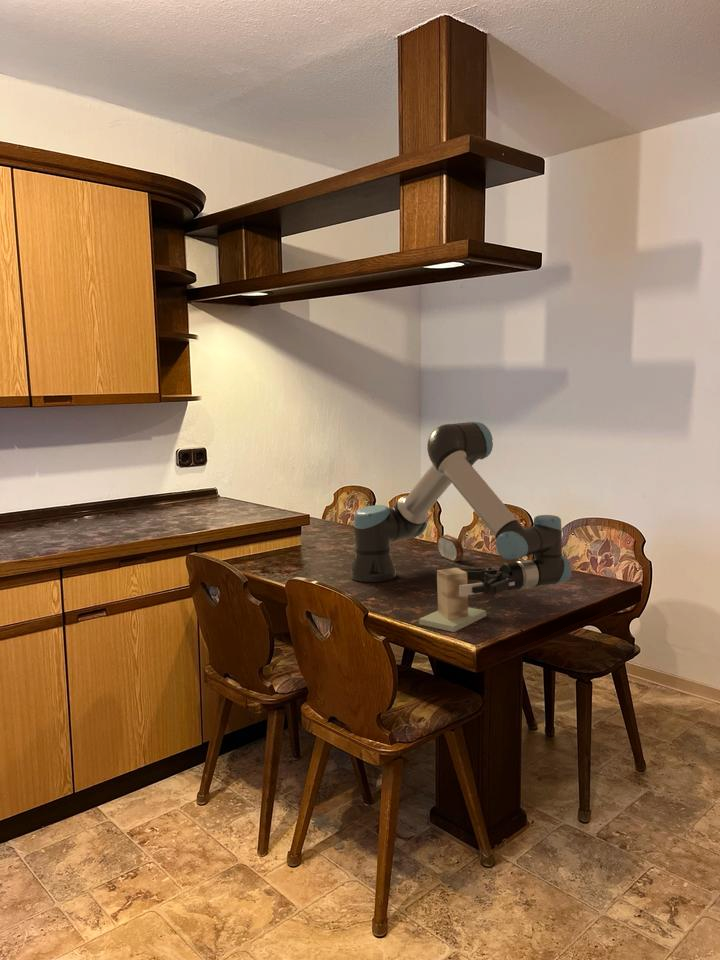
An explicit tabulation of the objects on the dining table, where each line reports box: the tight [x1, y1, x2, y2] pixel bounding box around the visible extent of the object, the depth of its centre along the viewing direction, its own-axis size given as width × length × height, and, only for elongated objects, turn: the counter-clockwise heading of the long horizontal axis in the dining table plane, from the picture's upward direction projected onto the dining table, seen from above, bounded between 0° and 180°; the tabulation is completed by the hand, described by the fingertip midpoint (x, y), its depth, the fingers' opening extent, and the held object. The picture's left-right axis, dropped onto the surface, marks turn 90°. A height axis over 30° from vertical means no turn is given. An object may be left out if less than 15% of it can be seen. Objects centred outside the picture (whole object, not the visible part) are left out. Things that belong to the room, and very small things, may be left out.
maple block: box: [436, 567, 469, 619], centre depth 197 cm, size 6×6×12 cm
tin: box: [437, 534, 464, 563], centre depth 265 cm, size 15×3×8 cm, turn 22°
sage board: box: [418, 606, 487, 633], centre depth 197 cm, size 16×11×2 cm
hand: (448, 584), depth 195 cm, fingers open, 13 cm apart
